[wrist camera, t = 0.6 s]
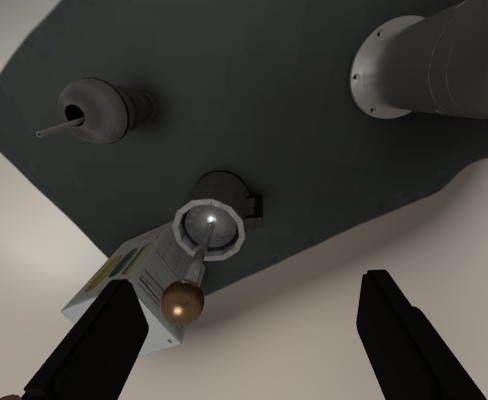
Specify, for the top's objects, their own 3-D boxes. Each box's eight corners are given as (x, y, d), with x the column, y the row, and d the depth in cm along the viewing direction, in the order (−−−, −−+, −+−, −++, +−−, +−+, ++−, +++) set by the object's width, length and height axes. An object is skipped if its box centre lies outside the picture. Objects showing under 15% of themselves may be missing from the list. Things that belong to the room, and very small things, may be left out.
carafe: (259, 166, 40) (259, 193, 30) (264, 218, 45) (266, 258, 34) (188, 173, 42) (163, 201, 31) (200, 223, 46) (181, 263, 35)
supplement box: (173, 218, 46) (128, 284, 30) (207, 266, 51) (182, 345, 35) (122, 241, 49) (57, 312, 34) (158, 284, 54) (115, 364, 38)
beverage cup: (165, 85, 36) (69, 77, 18) (166, 133, 39) (85, 167, 21) (119, 78, 36) (-24, 64, 18) (123, 127, 39) (5, 156, 21)
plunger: (233, 197, 33) (210, 285, 18) (240, 242, 36) (226, 348, 21) (181, 202, 34) (118, 289, 19) (192, 245, 37) (146, 350, 22)
